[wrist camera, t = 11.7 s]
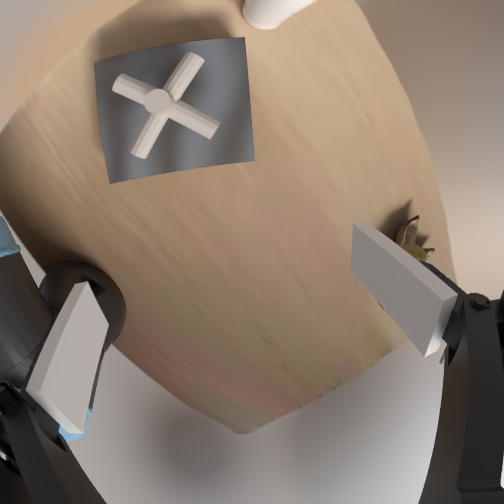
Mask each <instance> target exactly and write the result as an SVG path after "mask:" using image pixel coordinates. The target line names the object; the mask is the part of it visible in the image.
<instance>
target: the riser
mask: <svg viewBox="0 0 504 504" xmlns="http://www.w3.org/2000/svg"><path fill="white" fill-rule="evenodd" d="M186 52H192V53H194V54H196V55H198V56H200V57H201V58H203V59H204V60H205V62H204V63H203V64H202V66H201V67H200V69H199V70H198V72H197V73H196V75H195V76H194V78H193V79H192V81H191V82H190V84H189V85H188V87H187V88H186V90H185V91H184V93H183V94H182V96H181V98H180V99H179V100H181V101H183V102H185V103H187V104H189V105H191V106H193V107H194V108H196V109H198V110H200V111H202V112H204V113H206V114H208V115H209V116H211V117H213V118H215V119H217V120H218V121H220V124H219V126H218V128H217V130H216V131H215V133H214V134H213V136H212V137H211V139H208V138H206V137H204V136H203V135H201V134H199V133H197V132H195V131H193V130H191V129H190V128H188V127H186V126H184V125H182V124H180V123H178V122H176V121H174V120H172V119H170V118H168V119H167V121H166V123H165V124H164V126H163V128H162V130H161V131H160V133H159V135H158V137H157V139H156V140H155V142H154V144H153V146H152V148H151V150H150V152H149V154H148V156H147V157H146V159H143V158H139V157H137V156H135V155H133V154H131V153H130V152H129V151H128V150H129V148H130V146H131V144H132V142H133V140H134V138H135V136H136V134H137V132H138V130H139V129H140V127H141V125H142V123H143V121H144V119H145V118H146V116H147V114H148V112H149V111H148V110H147V109H146V108H145V106H144V105H142V104H140V103H138V102H135V101H133V100H131V99H129V98H127V97H125V96H123V95H120V94H118V93H116V92H114V91H113V90H112V88H113V85H114V83H115V81H116V79H117V78H118V76H119V75H120V74H122V73H124V74H126V75H129V76H131V77H133V78H135V79H137V80H140V81H142V82H144V83H146V84H148V85H150V86H153V87H155V88H157V89H163V87H164V85H165V84H166V82H167V81H168V79H169V78H170V76H171V75H172V73H173V71H174V70H175V68H176V67H177V65H178V64H179V63H180V61H181V60H182V58H183V57H184V55H185V54H186ZM94 66H95V82H96V94H97V104H98V113H99V121H100V129H101V136H102V142H103V149H104V155H105V161H106V166H107V172H108V177H109V182H110V184H112V183H117V182H121V181H126V180H131V179H136V178H141V177H146V176H152V175H157V174H163V173H169V172H175V171H181V170H187V169H194V168H201V167H208V166H215V165H223V164H231V163H240V162H249V161H255V156H254V143H253V130H252V117H251V105H250V93H249V81H248V69H247V57H246V45H245V37H239V38H222V39H210V40H200V41H192V42H184V43H177V44H171V45H165V46H160V47H154V48H149V49H145V50H140V51H136V52H131V53H127V54H123V55H119V56H116V57H112V58H109V59H105V60H102V61H98V62H95V63H94Z"/></svg>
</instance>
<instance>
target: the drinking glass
mask: <svg viewBox="0 0 504 504" xmlns="http://www.w3.org/2000/svg"><path fill="white" fill-rule="evenodd" d="M316 1H317V0H245V3H244V5H243V8H242V14H243V17H244V19H245V20H246V21H247V22H248V23H249V24H250V25H251V26H253V27H255V28H258V29H263V30H268V29H273V28H276V27H278V26H279V25H281V24H282V23H283V22H284V21H285V20H287V19H288V18H290V17H291V16H293V15H294V14H296V13H298V12H299V11H301V10H303V9H304V8H306V7H308V6H309V5H311V4H313V3H314V2H316Z"/></svg>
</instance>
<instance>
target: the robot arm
mask: <svg viewBox="0 0 504 504" xmlns="http://www.w3.org/2000/svg"><path fill="white" fill-rule="evenodd" d="M351 272H352V273H353V274H354V275H355V276H356V277H357V278H358V280H359V281H360V282H361V283H362V284H363V285H364V286H365V287H366V288H367V290H368V291H369V292H370V293H371V294H372V295H373V296H374V298H375V299H376V300H377V301H378V302H379V303H380V304H381V306H382V307H383V308H384V309H385V310H386V311H387V313H388V314H389V315H390V316H391V317H392V318H393V320H394V321H395V322H396V323H397V324H398V326H399V327H400V328H401V329H402V330H403V332H404V333H405V334H406V335H407V336H408V338H409V339H410V340H411V341H412V343H413V344H414V345H415V346H416V347H417V349H418V350H419V351H420V352H421V354H422V355H423V356H424V357H425V356H427V355H429V354H431V353H433V352H435V351H437V350H438V349H439V347H440V344H441V342H442V339H443V340H444V341H445V342H446V343H447V346H446V348H445V351H444V353H443V355H442V358H441V360H440V363H442V362H443V360H444V359H445V363H444V378H443V379H444V380H443V390H442V399H441V407H440V414H439V421H438V427H437V433H436V438H435V443H434V448H433V453H432V457H431V462H430V466H429V470H428V474H427V477H426V481H425V484H424V488H423V491H422V494H421V498H420V500H419V503H418V504H504V488H502V487H501V484H500V482H501V472H502V465H503V455H504V290H503V293H502V295H501V298H500V299H497V300H492V301H490V300H489V299H488V298H487V297H486V296H484V295H482V294H478V293H470V294H466V293H465V292H464V291H463V290H462V289H461V288H459V287H458V286H457V285H456V284H455V283H454V282H452V281H451V280H450V279H449V278H448V277H447V278H446V276H445V275H444V274H443V273H441V272H440V271H439V270H438V269H436V268H435V267H434V266H433V265H431V264H429V263H427V262H424V261H422V260H421V261H418V260H416V259H415V258H414V257H413V256H411V255H410V254H409V253H408V252H406V251H405V250H404V249H402V248H401V247H400V246H398V245H397V244H396V243H395V242H393V241H392V240H391V239H389V238H388V237H387V236H385V235H384V234H382V233H381V232H380V231H378V230H377V229H376V228H374V227H373V226H372V225H370V224H369V223H367V222H366V221H365V222H360V223H355V224H353V239H352V270H351ZM125 318H126V305H125V301H124V298H123V296H122V294H121V292H120V290H119V289H118V287H117V286H116V284H115V283H114V282H113V281H112V280H111V279H110V278H109V277H108V276H107V275H106V274H104V273H103V272H102V271H100V270H98V269H97V268H95V267H93V266H90V265H88V264H85V263H81V262H63V263H60V264H58V265H56V266H54V267H53V268H52V269H51V270H50V271H49V272H48V273H47V274H46V276H45V277H44V279H43V280H42V282H41V284H40V287H39V288H38V287H37V285H36V283H35V281H34V279H33V277H32V275H31V273H30V271H29V270H28V268H27V265H26V264H25V261H24V259H23V257H22V255H21V253H20V246H19V245H17V244H16V242H15V240H14V238H13V236H12V234H11V232H10V230H9V228H8V226H7V224H6V222H5V220H4V219H3V218H2V217H1V216H0V451H1V452H2V453H4V454H5V455H6V460H4V459H3V458H2V457H1V456H0V504H106V502H105V501H104V499H103V498H102V497H101V495H100V494H99V493H98V491H97V490H96V489H95V487H94V486H93V484H92V483H91V481H90V480H89V479H88V477H87V475H86V474H85V472H84V471H83V469H82V468H81V466H80V464H79V463H78V461H77V460H76V458H75V456H74V455H73V453H72V451H71V450H70V448H69V446H68V444H67V443H66V441H71V440H76V439H78V438H80V437H82V436H83V435H84V433H85V432H86V429H87V425H88V421H89V417H90V416H91V414H92V407H93V401H94V396H95V391H96V386H97V381H98V377H99V372H100V368H101V364H102V360H103V356H104V353H105V352H106V351H107V349H108V348H109V346H110V344H111V343H113V342H114V341H115V340H116V339H117V338H118V336H119V335H120V333H121V331H122V329H123V326H124V322H125Z"/></svg>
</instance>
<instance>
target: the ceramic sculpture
mask: <svg viewBox="0 0 504 504" xmlns="http://www.w3.org/2000/svg"><path fill="white" fill-rule="evenodd" d="M418 219H419V215H417V216H416V217H414V218H412V219H411V220H409V221H408V222H407V223H406V224H404V225H403V226H402V227H401V229H400V230H399V232H398V235H397V238H396V241H395V243H396V244H397V245H398V246H400V247H401V248H402V249H404V250H405V251H406V252H408V253H409V254H410V255H411V256H413V257H414V258H415V259H416V260H418V261H421V260H422V261H424V262H427V263H429V262H428V257H429V256H430V255H431V254H432V253H433V252H434V251H435V249H434V248H430V249H427V248H424V249H422V248H421V247H420V246H419V245H417V244H416V243H415V240H416V236H417V233H418V230H417V224H418ZM377 302H378V301H377ZM378 303H379V302H378ZM379 305H380V306H381V304H380V303H379ZM381 308H382V309H383V310H385V309H384V308H383V307H382V306H381Z"/></svg>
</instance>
